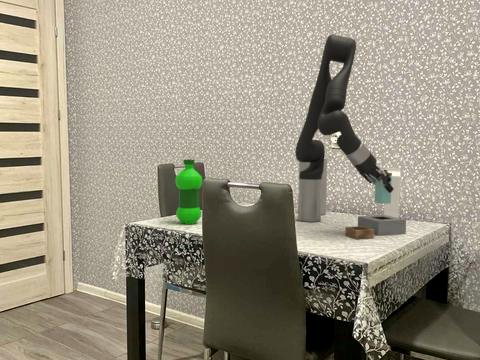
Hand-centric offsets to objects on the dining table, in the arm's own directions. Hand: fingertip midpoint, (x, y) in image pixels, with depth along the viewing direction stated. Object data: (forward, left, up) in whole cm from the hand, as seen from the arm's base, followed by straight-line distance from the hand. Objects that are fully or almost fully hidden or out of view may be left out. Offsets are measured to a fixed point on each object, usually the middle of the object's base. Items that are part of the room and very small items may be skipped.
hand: (387, 190), depth 173 cm
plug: (-2, -1, -5) cm, 5 cm away
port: (-2, -1, -15) cm, 15 cm away
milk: (+6, +27, -15) cm, 32 cm away
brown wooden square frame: (-11, -13, -15) cm, 23 cm away
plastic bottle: (-75, +2, -15) cm, 76 cm away
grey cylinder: (-27, +39, -15) cm, 50 cm away
